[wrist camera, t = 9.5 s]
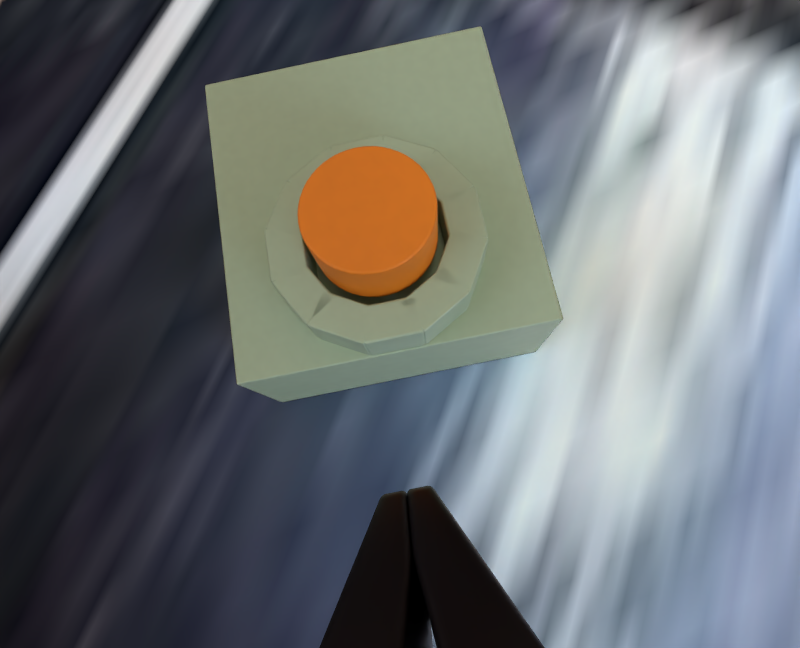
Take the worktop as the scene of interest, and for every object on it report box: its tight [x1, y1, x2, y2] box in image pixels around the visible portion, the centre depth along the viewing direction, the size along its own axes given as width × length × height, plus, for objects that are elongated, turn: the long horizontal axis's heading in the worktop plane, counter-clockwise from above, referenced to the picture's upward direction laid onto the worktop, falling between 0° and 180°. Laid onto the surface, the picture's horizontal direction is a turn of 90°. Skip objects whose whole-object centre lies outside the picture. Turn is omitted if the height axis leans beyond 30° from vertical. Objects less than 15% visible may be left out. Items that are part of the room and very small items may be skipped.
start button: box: [297, 146, 438, 297], centre depth 16 cm, size 4×4×2 cm
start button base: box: [205, 27, 563, 402], centre depth 21 cm, size 12×11×7 cm
